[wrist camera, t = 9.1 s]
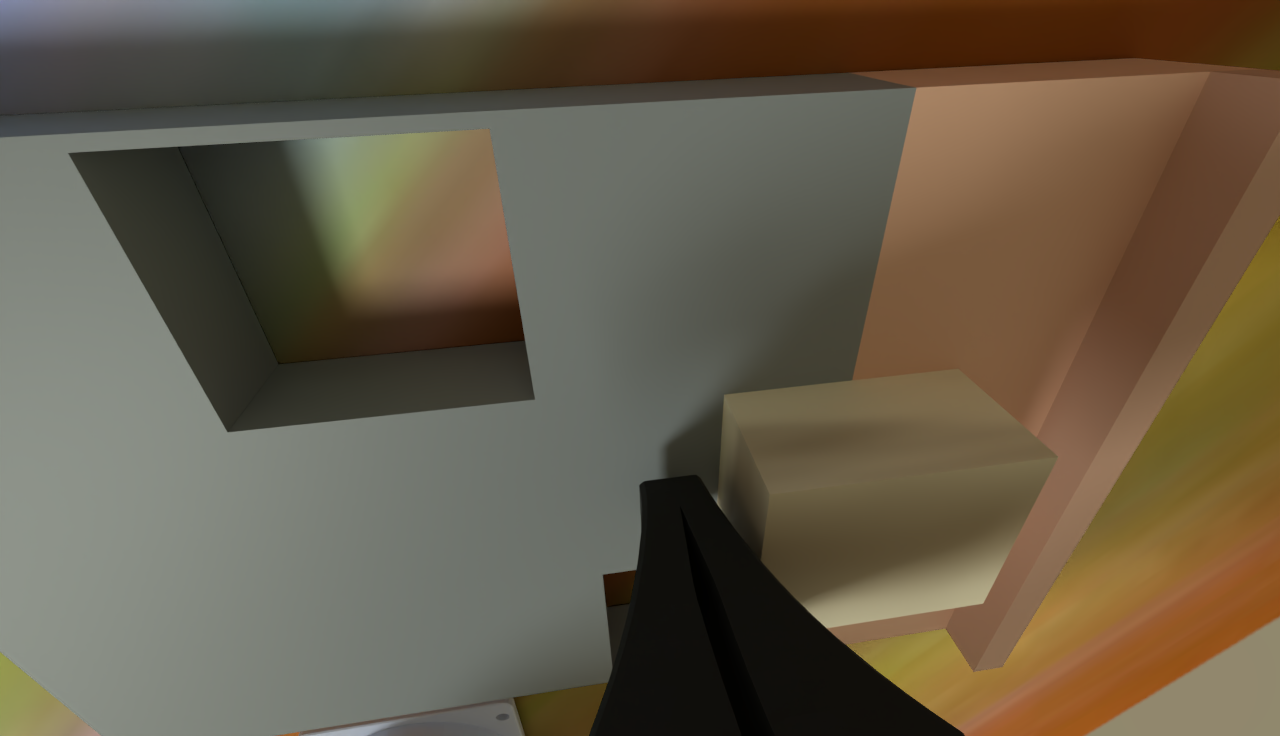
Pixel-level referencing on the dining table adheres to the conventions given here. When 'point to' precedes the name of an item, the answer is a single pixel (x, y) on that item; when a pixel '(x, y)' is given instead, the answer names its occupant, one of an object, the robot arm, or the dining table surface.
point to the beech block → (879, 491)
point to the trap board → (571, 364)
